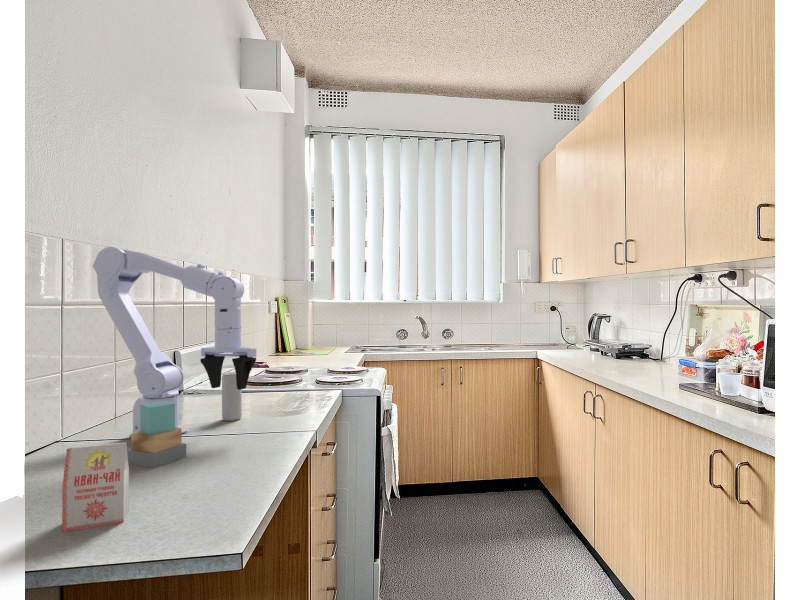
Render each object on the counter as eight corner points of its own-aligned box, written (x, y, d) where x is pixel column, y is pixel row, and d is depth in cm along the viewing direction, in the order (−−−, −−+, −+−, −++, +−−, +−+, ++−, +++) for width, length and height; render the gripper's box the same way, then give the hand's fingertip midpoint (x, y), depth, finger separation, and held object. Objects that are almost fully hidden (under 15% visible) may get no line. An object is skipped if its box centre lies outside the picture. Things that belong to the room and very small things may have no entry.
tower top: (130, 449, 85) (130, 433, 85) (158, 441, 91) (158, 426, 91) (154, 452, 83) (154, 436, 83) (181, 444, 89) (181, 428, 89)
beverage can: (235, 421, 117) (234, 374, 118) (218, 421, 118) (217, 374, 119) (245, 417, 122) (244, 372, 122) (228, 417, 123) (228, 371, 123)
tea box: (71, 519, 62) (71, 444, 62) (128, 511, 64) (128, 439, 64) (62, 531, 58) (62, 452, 59) (123, 522, 61) (123, 446, 61)
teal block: (140, 431, 87) (140, 404, 87) (165, 426, 90) (165, 400, 90) (149, 435, 84) (149, 407, 84) (175, 430, 87) (174, 403, 88)
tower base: (127, 466, 85) (127, 450, 85) (160, 455, 92) (160, 440, 92) (154, 470, 82) (154, 454, 82) (186, 459, 89) (186, 443, 89)
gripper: (264, 328, 107) (265, 386, 106) (216, 328, 112) (217, 384, 112) (243, 329, 100) (244, 391, 100) (193, 329, 106) (194, 388, 106)
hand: (228, 388), depth 106 cm, fingers open, 7 cm apart
